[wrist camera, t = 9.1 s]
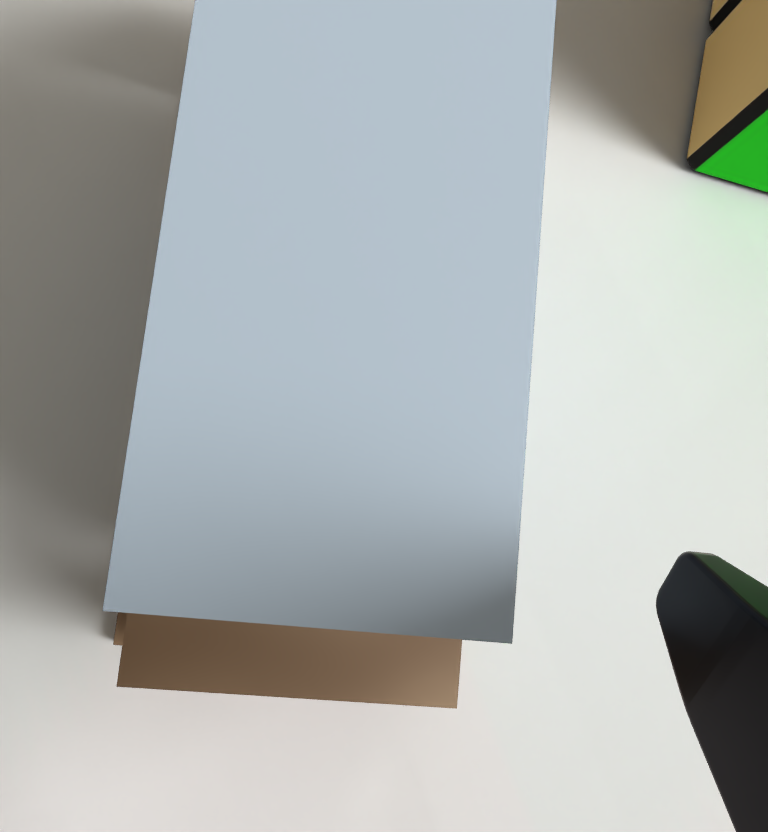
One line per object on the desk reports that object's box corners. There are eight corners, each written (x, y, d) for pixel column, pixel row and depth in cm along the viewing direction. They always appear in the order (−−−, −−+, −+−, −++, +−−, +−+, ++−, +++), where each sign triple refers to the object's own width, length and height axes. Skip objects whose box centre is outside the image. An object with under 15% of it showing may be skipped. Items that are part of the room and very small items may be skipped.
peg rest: (449, 666, 20) (502, 711, 16) (116, 641, 19) (64, 683, 14) (493, 105, 23) (550, -2, 18) (202, 53, 22) (181, -75, 17)
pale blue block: (396, 580, 18) (512, 643, 9) (190, 562, 17) (102, 610, 9) (438, 132, 20) (568, -176, 11) (253, 101, 19) (234, -255, 10)
